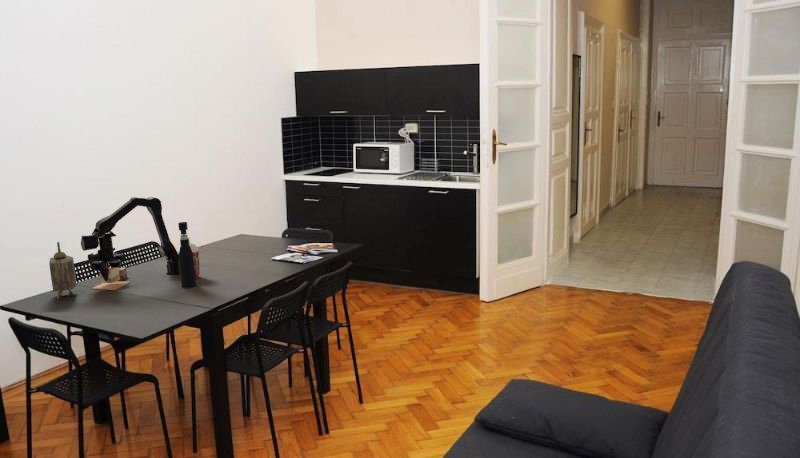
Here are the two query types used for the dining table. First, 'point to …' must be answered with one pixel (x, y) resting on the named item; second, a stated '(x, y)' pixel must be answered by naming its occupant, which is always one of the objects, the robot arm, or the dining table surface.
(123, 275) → the walnut block
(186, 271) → the wine bottle
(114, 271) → the maple block
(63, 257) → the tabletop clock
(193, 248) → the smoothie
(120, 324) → the dining table surface
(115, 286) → the terracotta tile
